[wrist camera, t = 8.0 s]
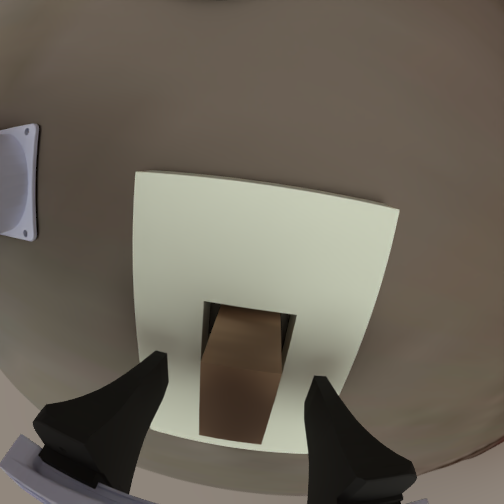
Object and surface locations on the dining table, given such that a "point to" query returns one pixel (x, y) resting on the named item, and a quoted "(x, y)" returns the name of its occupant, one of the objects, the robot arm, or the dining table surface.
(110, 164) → the dining table surface
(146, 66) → the dining table surface
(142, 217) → the socket plate
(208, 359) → the walnut bar
